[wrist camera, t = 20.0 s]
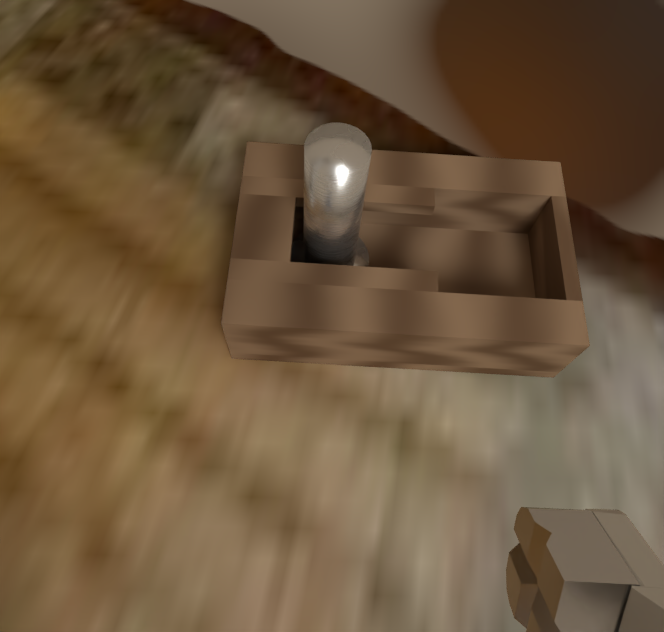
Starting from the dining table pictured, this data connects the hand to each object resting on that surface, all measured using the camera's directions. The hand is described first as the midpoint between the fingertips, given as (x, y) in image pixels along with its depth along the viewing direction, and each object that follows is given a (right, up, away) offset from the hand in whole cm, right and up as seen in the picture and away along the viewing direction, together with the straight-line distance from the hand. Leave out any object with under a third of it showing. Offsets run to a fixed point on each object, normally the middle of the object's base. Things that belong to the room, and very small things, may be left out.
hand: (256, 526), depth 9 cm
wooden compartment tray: (+6, +6, +34) cm, 35 cm away
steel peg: (+1, +7, +33) cm, 33 cm away
